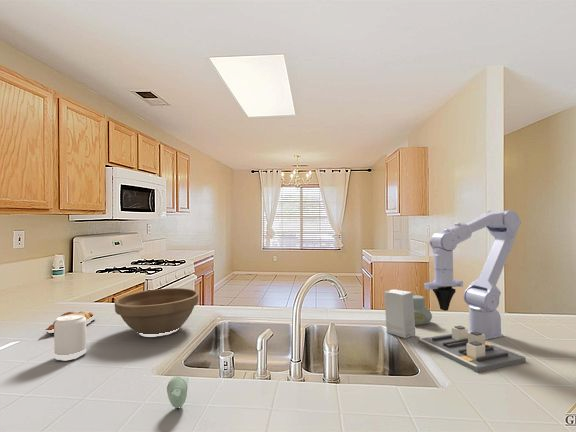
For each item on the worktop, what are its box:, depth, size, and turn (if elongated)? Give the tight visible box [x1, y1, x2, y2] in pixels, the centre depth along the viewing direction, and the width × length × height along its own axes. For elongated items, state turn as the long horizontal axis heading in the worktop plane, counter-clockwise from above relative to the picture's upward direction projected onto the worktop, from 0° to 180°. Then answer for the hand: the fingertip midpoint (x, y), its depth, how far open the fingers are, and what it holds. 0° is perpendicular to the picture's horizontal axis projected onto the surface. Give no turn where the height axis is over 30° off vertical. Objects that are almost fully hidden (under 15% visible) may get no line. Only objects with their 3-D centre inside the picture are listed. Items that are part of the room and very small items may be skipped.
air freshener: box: [413, 294, 433, 326], centre depth 128 cm, size 11×8×10 cm
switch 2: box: [467, 341, 485, 360], centre depth 93 cm, size 4×3×4 cm
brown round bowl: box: [114, 287, 199, 334], centre depth 122 cm, size 28×28×13 cm
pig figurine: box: [166, 375, 189, 409], centre depth 72 cm, size 8×4×7 cm, turn 2°
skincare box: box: [383, 288, 416, 339], centre depth 116 cm, size 8×6×15 cm
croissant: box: [45, 311, 95, 330], centre depth 127 cm, size 21×10×8 cm, turn 165°
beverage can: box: [53, 314, 88, 355], centre depth 100 cm, size 8×8×12 cm
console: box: [417, 333, 527, 373], centre depth 100 cm, size 18×22×2 cm
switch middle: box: [468, 331, 486, 345], centre depth 101 cm, size 4×3×4 cm
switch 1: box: [451, 325, 469, 340], centre depth 106 cm, size 4×3×4 cm
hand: (444, 309), depth 109 cm, fingers closed
